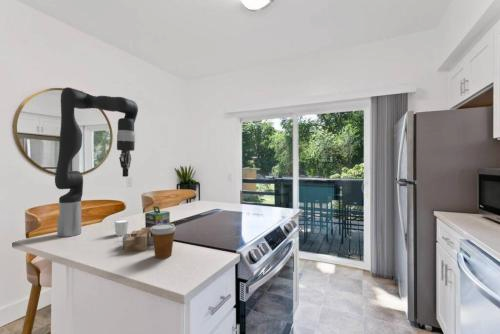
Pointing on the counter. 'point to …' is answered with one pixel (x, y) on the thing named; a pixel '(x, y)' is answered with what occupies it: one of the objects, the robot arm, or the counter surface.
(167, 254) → the disposable coffee cup
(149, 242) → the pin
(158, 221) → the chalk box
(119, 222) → the white cup
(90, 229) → the counter surface
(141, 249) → the hitch block
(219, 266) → the counter surface
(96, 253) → the counter surface
